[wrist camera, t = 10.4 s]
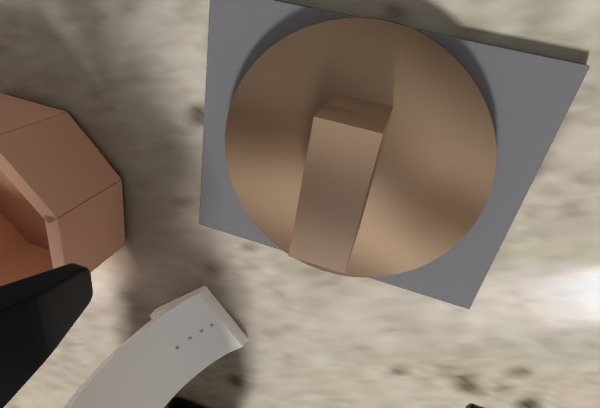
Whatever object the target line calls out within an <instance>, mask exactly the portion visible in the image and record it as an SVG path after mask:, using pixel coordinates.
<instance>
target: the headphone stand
mask: <svg viewBox="0 0 600 408" xmlns="http://www.w3.org/2000/svg"><path fill="white" fill-rule="evenodd" d="M149 317H150V318H151V319H152V320H150V321H149V322H148V323H147V324H145V325H144V326H143V327H142V328H140V329H139V330H138V331H137V332H136V333H134V334H133V335H132V336H131V337H130V338H129V339H128V340H126V341H125V342H124V343H123V344H122V345H121V346H120V347H119V348H118V349H117V350H115V351H114V352H113V353H112V354H111V355H110V356H109V357H108V358H107V359H106V360H105V361H104V362H103V363H102V364H101V365H100V366H99V367H98V368H97V369H96V370H95V371H94V372H93V373H92V374H91V376H90V377H89V378H88V379H87V380H86V381H85V382H84V383H83V384H82V386H81V387H80V388H79V389H78V390H77V391H76V392H75V394H74V395H73V396H72V397H71V399H70V400H69V401H68V402H67V404H66V405H65V406H64V407H63V408H164V407H165V406H166V404H167V403H168V402H169V401H170V400H171V399H172V398H173V397H174V396H175V395H176V394H177V393H178V392H179V391H180V390H181V389H182V388H183V387H184V386H185V385H186V384H187V383H188V382H189V381H190V380H191V379H192V378H194V377H195V376H196V375H197V374H198V373H200V372H201V371H202V370H203V369H205V368H206V367H207V366H209V365H210V364H212V363H213V362H215V361H216V360H218V359H219V358H221V357H223V356H224V355H226V354H228V353H230V352H232V351H234V350H236V349H239V348H241V347H243V346H244V344H245V342H246V340H247V338H248V337H247V336H246V335H245V334H244V332H243V331H242V330H241V329H240V327H239V326H238V325H237V324H236V322H235V321H234V320H233V319H232V317H231V316H230V315H229V314H228V313H227V311H226V310H225V309H224V308H223V306H222V305H221V304H220V303H219V301H218V300H217V299H216V298H215V296H214V295H213V294H212V293H211V291H210V290H209V289H208V288H207V287H206V285H204V286H202V287H200V288H198V289H196V290H194V291H192V292H189V293H187V294H185V295H183V296H181V297H179V298H177V299H175V300H172V301H170V302H168V303H166V304H164V305H162V306H160V307H157V308H156V309H155V310H154V311H153V312H152V314H151V315H150V316H149Z"/></svg>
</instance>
